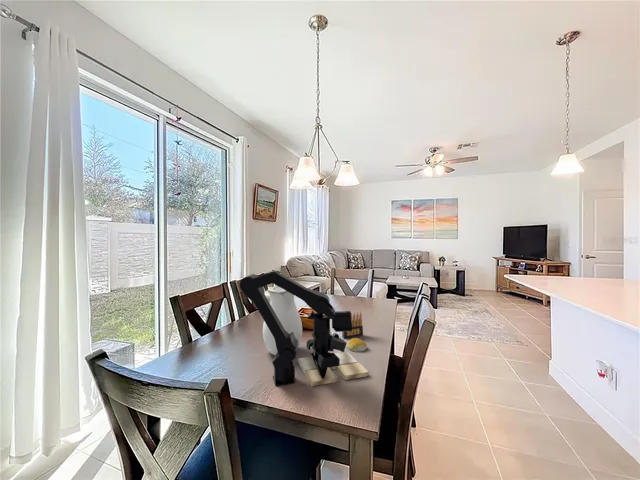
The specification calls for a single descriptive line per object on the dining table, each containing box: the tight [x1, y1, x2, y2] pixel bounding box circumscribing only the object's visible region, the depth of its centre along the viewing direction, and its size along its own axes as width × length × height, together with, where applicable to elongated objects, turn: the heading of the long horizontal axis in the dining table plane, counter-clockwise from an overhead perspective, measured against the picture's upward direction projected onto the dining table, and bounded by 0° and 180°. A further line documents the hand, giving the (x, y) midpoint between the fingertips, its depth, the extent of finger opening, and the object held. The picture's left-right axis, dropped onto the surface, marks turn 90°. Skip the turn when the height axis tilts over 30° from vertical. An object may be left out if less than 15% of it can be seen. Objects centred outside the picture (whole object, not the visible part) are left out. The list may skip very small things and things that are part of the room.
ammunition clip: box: [341, 311, 364, 340], centre depth 140 cm, size 11×2×12 cm, turn 112°
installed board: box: [297, 351, 359, 375], centre depth 110 cm, size 21×10×2 cm, turn 108°
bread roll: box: [346, 337, 368, 353], centre depth 126 cm, size 8×9×4 cm
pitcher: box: [262, 286, 303, 356], centre depth 126 cm, size 24×17×28 cm
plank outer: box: [336, 362, 370, 381], centre depth 103 cm, size 9×8×2 cm
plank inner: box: [304, 367, 338, 387], centre depth 99 cm, size 9×8×2 cm
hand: (322, 376), depth 97 cm, fingers closed on plank inner, 2 cm apart
